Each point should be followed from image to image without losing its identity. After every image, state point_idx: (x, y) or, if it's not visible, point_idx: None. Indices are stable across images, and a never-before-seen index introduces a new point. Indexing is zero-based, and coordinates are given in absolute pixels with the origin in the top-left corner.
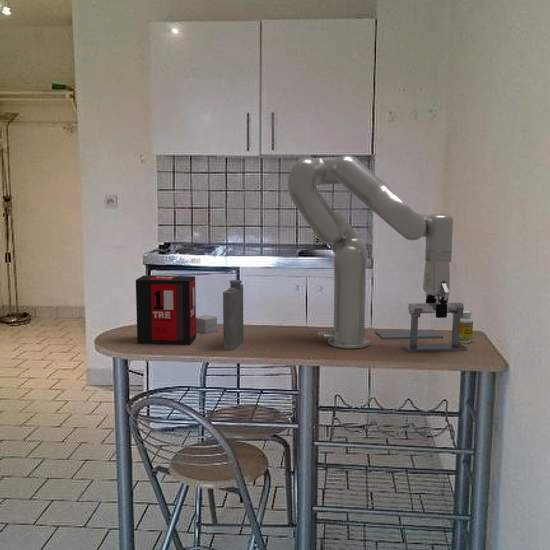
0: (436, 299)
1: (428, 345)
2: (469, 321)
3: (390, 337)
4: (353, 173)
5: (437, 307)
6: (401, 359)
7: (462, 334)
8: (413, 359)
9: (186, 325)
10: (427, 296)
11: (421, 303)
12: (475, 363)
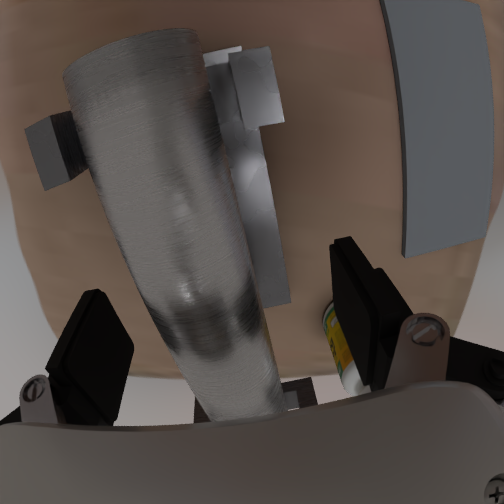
0: (370, 385)
1: (232, 173)
2: (344, 388)
3: (388, 21)
4: None
5: (58, 352)
6: (35, 58)
7: (333, 330)
8: (41, 103)
9: None
10: (395, 346)
11: (150, 223)
12: (65, 306)
